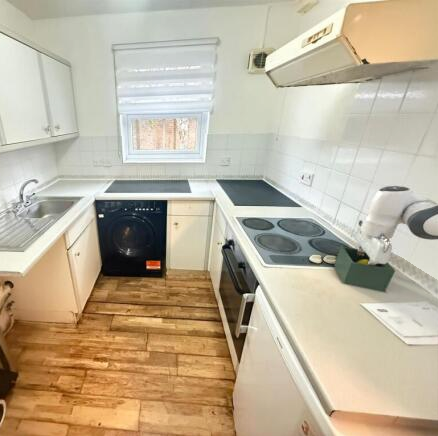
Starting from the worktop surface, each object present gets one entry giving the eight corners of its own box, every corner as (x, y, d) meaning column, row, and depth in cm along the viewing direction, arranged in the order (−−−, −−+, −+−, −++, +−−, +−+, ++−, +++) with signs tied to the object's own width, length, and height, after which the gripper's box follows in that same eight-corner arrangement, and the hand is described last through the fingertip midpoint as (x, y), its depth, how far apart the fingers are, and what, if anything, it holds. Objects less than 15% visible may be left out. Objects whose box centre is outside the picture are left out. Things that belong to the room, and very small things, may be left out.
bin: (370, 272, 99) (378, 252, 96) (384, 292, 88) (395, 270, 84) (333, 265, 104) (340, 246, 100) (343, 283, 93) (351, 262, 89)
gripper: (403, 243, 78) (386, 278, 83) (376, 220, 95) (364, 250, 100) (378, 240, 80) (364, 274, 85) (357, 218, 97) (346, 247, 103)
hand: (364, 261), depth 93 cm, fingers open, 8 cm apart
